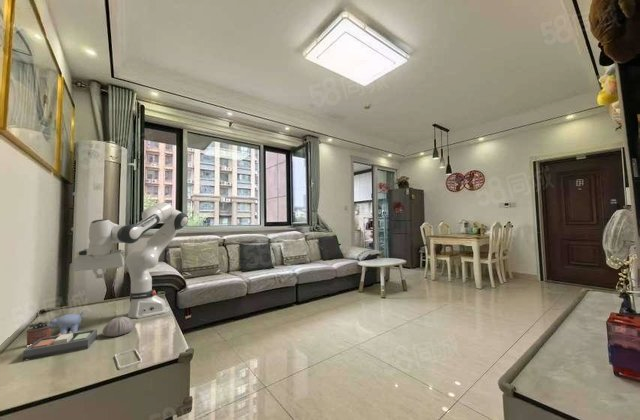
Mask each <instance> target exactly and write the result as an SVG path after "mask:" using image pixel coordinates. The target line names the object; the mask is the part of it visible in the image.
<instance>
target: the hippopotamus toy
mask: <svg viewBox="0 0 640 420" xmlns="http://www.w3.org/2000/svg"><path fill="white" fill-rule="evenodd" d="M84 312H85V309H83V310H82V311H81V312H80V313H69V314H65V315H62V316H59V317H58V318H57V317H55V318H54V319H51V320H50V321H49V322H48V324H47V325H51V328H50V330H52V329H53V328H59V329H60V330H59V333H57V335H61V334H70V333H72V332H73V333H74V332H79V331H78V330H79V328H80V327H81V323H82V321H83V317H82V315H83V314H84ZM69 328H70V329H69ZM68 330H69V331H68Z"/></svg>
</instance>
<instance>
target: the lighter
mask: <svg viewBox="0 0 640 420" xmlns="http://www.w3.org/2000/svg"><path fill="white" fill-rule="evenodd" d="M48 323H49V321H44V322H43V321H39V322H35V323H31V324H29V325H28V328H29V329H27V330H26V345H30V344H33V343H35V342H36V341H37V340H39V339H40V338H46V337H51V329H52V328H51V325H47V324H48ZM50 328H51V329H50Z"/></svg>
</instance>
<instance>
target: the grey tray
mask: <svg viewBox="0 0 640 420" xmlns="http://www.w3.org/2000/svg"><path fill="white" fill-rule="evenodd" d="M90 332H91V334H90V335H89V336H88V337H87V339H84V340H79V341H73V339H74V338H75V337H76V336H77V335H79V334H84V333H90ZM61 335H64V334H61ZM59 336H60V335H58V334H56V335H53V336H50V337H46V338H40V339H39V340H37V341H36V342H35V343H33V344H32V345H31V346H29V347H26V348H25V349H24V350H23V352H22V361H23V360H25V361H27V360H26V359H30V360H34V359H33V358H35V359H39V358H45V357H52V356H56V355H61V354H66V353H71V352H77V351H81V350H87V349H89V348H90V347H91V345H92V344H93V343H94V342H95V341H96V339H97V338H98V328H96V329H91V330H85V331H81V330H80V331H77V332H73V338H72V339H71V340H70V341H69V342H67V343H62V344H56V345H54V344H53V345H50V346H44V347H39V348H33V347H34V346H35V345H36V344H38V343H39V342H40V341H42V340H48V339H54V338H55V339H56V338H58V337H59Z"/></svg>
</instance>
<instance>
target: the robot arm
mask: <svg viewBox="0 0 640 420" xmlns="http://www.w3.org/2000/svg"><path fill="white" fill-rule="evenodd" d="M141 219H142V220H140V221H139V222H137V223H134V224H123V225H119V224H118V223H115V222H112V221H111V220H110V219H108V218H102V219H95V220H93V221H91V222H90V223H89V224H90V225H89V231H88V238H89V244H88V247H87V248H84V249H81V250H79V251H76V252H75V257H74V260H73V262H72V263H73V264H72V270H73V271H74V272H81V271H82V272H83V271H92V273H93V274H94V275H95V279H103V278H104V277H105V273H106V272H107V269H116V268H122V267H124V266H125V264H126V266H127V269H128V274H129V278H130V293H129V302H130V303H129V310H128V314H127V317H128V318H130V319H133V318H134V319H141V318H146V317H147V318H148V317H151V316H157V315H162V314H166V313H168V312H169V311H170V306H168V305H167V304H166V301H165V299H163V298H162V297H160V296H158V295H156V294H157V292H156V290H155V289H152V288H153V277H152V275H151V274H150V271H149V270H151V269H153V268H155V267H156V266H157V265H158V264H159V258H160V256H161V254H162V253H163V252H164V250H165V249H166V247H167V246H168V245H169V244H171V243H172V240H173V239H174V238H175V236H176V235H177V233H178V230H181V229H183V228H184V227H185V226H187V224H188V222H189V216H188V215H187V214H186V213H184V212H182V211H180V210H178V209H175V208H173V205H171V204H170V203H169V202H161V203H157V204H154V205H152V206H150V207H148V208H146V209H145V210H143V211H142V213H141ZM161 222H162V223H164V224H163V225H162V226H161V227H160V228H158V230H156V231H155V233H154V234H153V235H151V236H150V238H149V239H148V240H147V241H146V245H145V247H144V248H143V250H141V251H133V252H131V253H128V255H126V254H125V253H126V252H125V251H124V250H123V249H112V243H113V244H135V243H136V242H138V241H139V240H140V238H141V237H142V236H143V235H144V234H145V233H146V232H148V231H149V230H151V229H153V228H154V227H155V226H156V225H158V224H160V223H161ZM125 255H126V256H125ZM98 270H101V271H102V273H100V274H99V273H98Z"/></svg>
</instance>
